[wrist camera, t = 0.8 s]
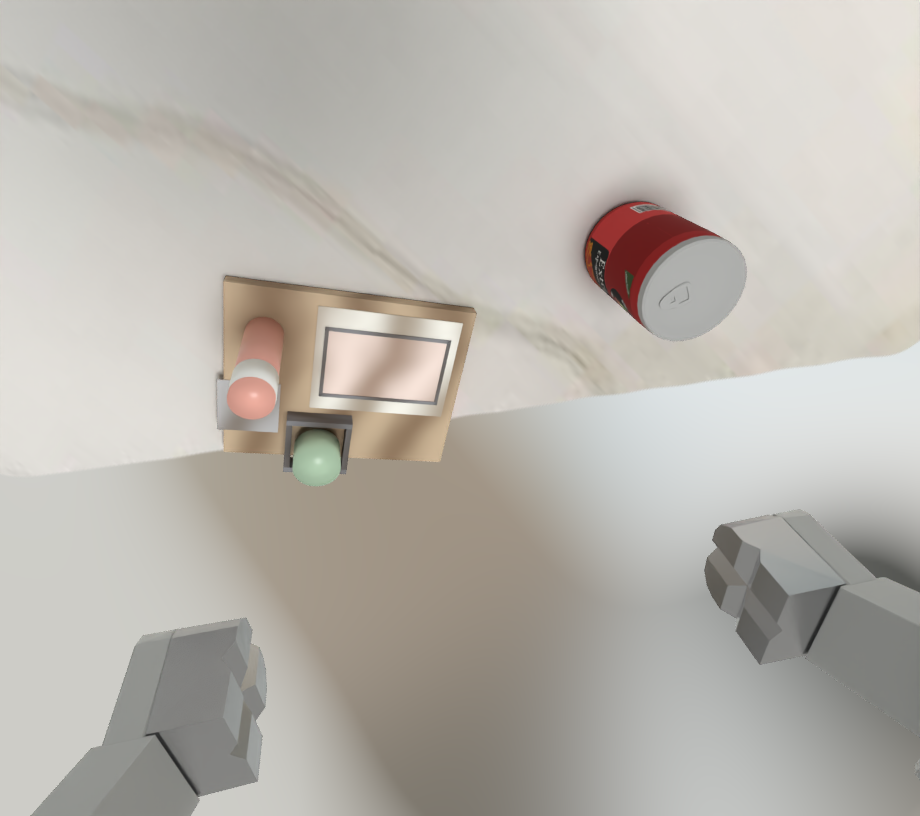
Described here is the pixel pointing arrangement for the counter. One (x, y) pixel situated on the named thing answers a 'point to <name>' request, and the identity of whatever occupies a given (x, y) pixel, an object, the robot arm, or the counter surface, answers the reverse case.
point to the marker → (257, 370)
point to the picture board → (348, 370)
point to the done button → (316, 457)
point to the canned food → (665, 270)
